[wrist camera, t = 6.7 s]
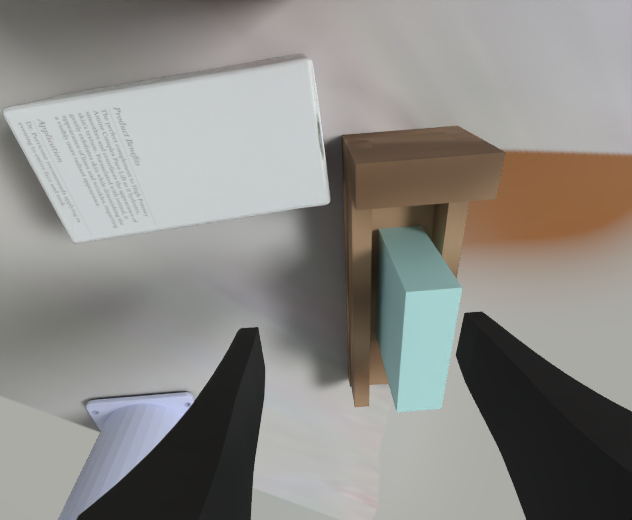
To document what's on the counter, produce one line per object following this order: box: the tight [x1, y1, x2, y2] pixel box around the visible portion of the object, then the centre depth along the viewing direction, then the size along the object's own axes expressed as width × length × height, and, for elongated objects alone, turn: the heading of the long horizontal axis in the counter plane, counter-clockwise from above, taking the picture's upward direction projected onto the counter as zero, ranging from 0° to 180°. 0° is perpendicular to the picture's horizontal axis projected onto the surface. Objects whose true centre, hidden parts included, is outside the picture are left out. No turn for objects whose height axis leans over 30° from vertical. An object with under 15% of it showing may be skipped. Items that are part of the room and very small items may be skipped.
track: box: [342, 126, 505, 407], centre depth 22 cm, size 18×6×5 cm, turn 4°
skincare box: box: [3, 54, 331, 244], centre depth 17 cm, size 6×4×12 cm
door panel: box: [376, 225, 462, 412], centre depth 20 cm, size 8×2×6 cm, turn 4°
